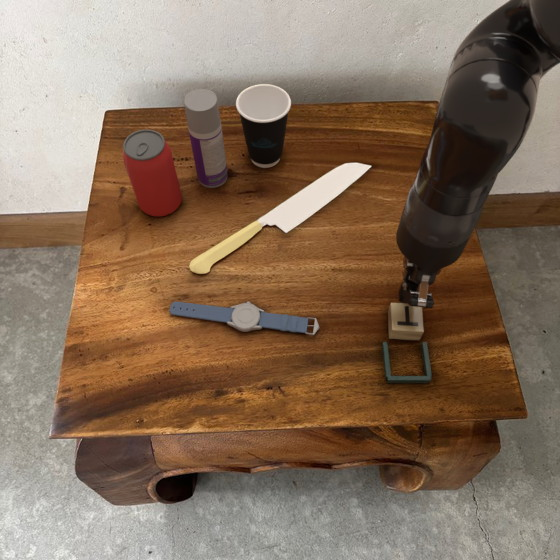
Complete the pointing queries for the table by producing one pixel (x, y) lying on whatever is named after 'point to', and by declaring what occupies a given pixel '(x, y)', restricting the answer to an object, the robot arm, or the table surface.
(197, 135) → the container
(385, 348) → the frame
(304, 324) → the wristwatch
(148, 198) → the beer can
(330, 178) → the knife
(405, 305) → the letter tile
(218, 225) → the table surface
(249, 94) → the dixie cup
